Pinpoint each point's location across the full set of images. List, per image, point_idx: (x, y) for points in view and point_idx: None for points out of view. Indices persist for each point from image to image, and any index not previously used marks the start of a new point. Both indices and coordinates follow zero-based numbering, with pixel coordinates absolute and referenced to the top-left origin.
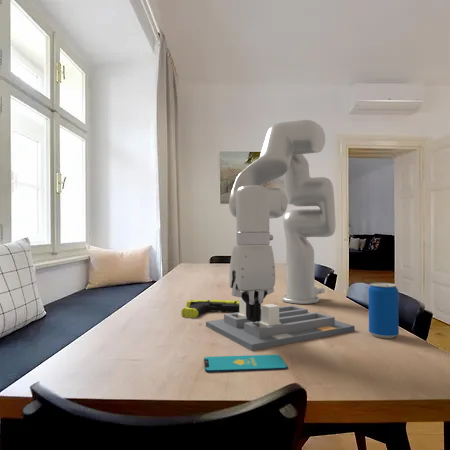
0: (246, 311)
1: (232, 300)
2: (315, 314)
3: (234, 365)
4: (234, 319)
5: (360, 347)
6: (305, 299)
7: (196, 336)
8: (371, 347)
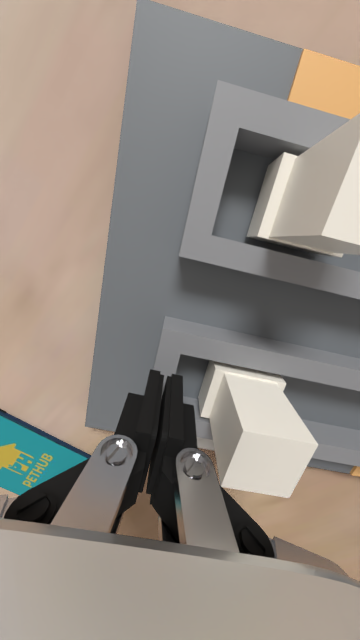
0: (123, 410)
1: None
2: None
3: None
4: (183, 235)
5: (306, 535)
6: None
7: (9, 168)
8: (321, 545)
